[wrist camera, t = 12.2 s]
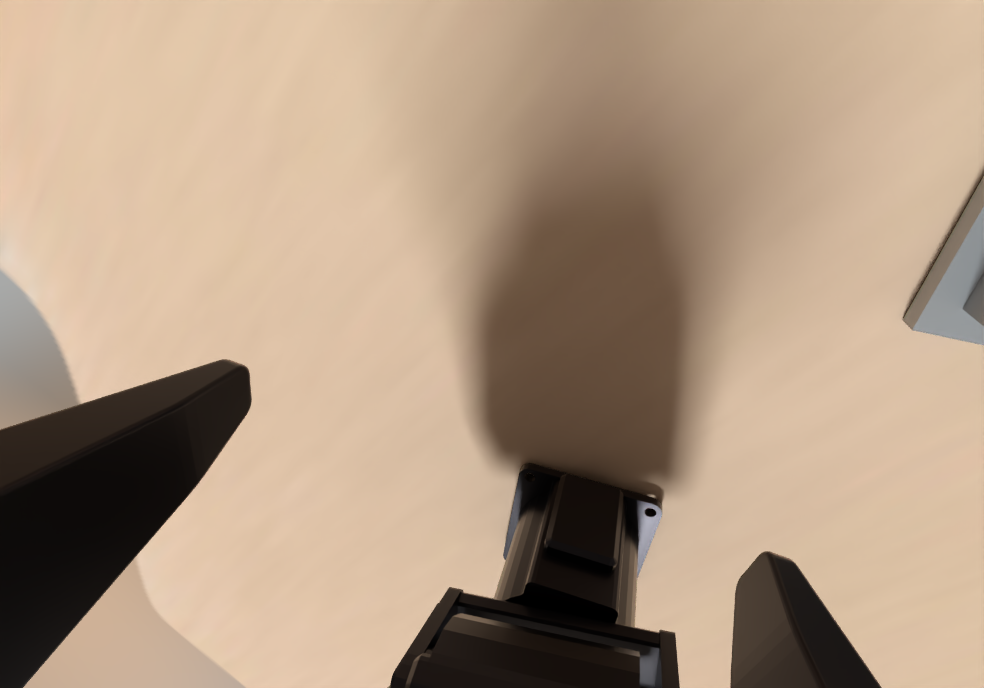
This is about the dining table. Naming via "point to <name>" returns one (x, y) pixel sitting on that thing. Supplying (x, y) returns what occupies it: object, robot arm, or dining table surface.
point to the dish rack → (955, 282)
